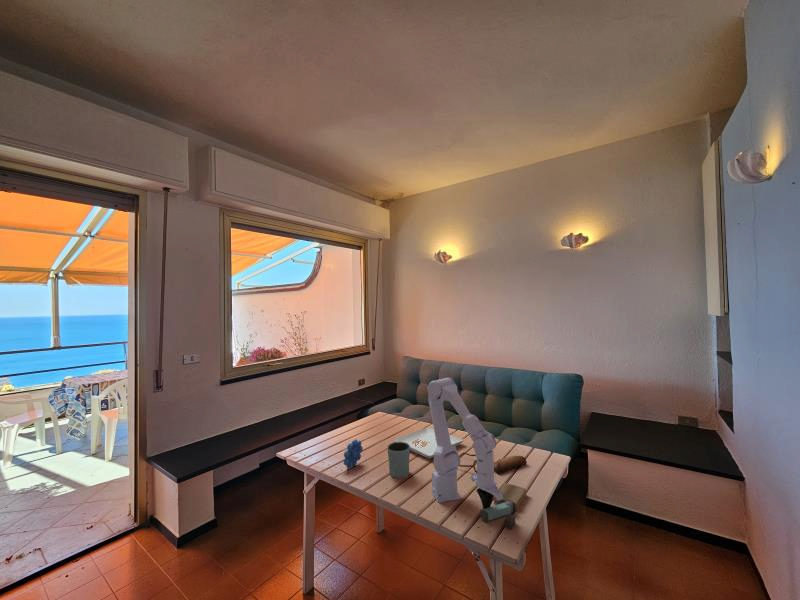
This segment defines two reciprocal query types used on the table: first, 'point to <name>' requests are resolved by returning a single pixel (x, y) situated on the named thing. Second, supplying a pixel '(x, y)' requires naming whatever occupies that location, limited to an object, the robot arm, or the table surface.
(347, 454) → the grapes
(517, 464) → the sunglasses case
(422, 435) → the square plate
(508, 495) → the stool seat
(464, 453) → the glasses
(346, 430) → the table surface
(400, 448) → the green cup
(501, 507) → the stool leg
